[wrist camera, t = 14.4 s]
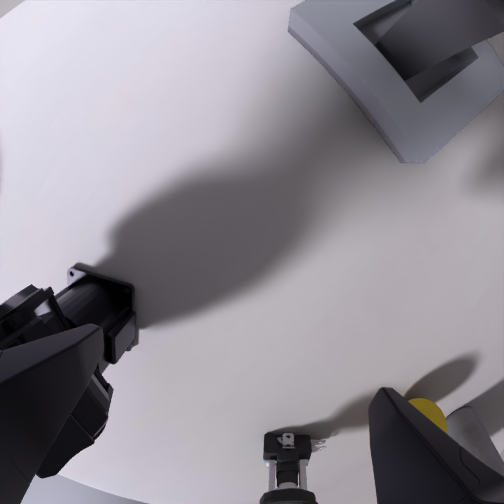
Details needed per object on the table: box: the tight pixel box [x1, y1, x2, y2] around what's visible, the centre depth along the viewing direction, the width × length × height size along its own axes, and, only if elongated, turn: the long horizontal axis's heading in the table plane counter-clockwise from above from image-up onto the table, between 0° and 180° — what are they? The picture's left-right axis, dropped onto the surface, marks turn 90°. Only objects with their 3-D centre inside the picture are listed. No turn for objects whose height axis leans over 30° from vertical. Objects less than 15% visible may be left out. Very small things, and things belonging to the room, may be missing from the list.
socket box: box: [288, 0, 504, 164], centre depth 14 cm, size 12×12×4 cm
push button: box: [260, 433, 326, 504], centre depth 22 cm, size 7×5×10 cm
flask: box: [446, 407, 504, 476], centre depth 17 cm, size 15×6×20 cm, turn 13°
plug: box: [375, 0, 504, 81], centre depth 9 cm, size 4×3×13 cm
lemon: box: [408, 398, 448, 434], centre depth 20 cm, size 6×6×8 cm
